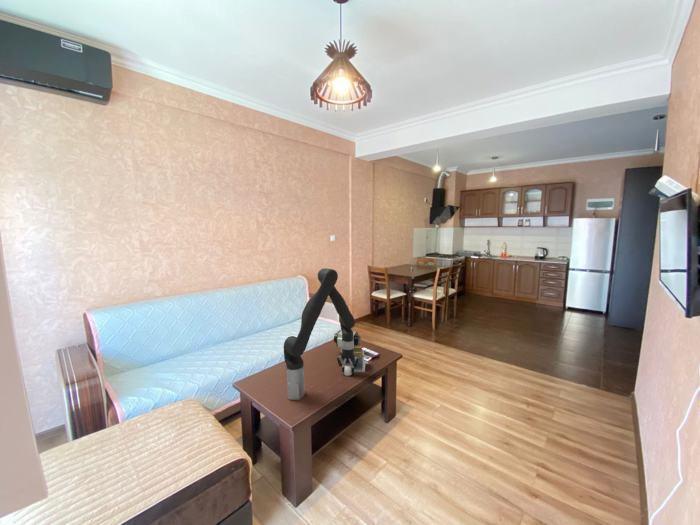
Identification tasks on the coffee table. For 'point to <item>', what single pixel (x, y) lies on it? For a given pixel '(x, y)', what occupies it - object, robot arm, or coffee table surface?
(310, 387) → the coffee table surface
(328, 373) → the coffee table surface
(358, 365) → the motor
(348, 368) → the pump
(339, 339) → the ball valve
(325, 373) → the coffee table surface
